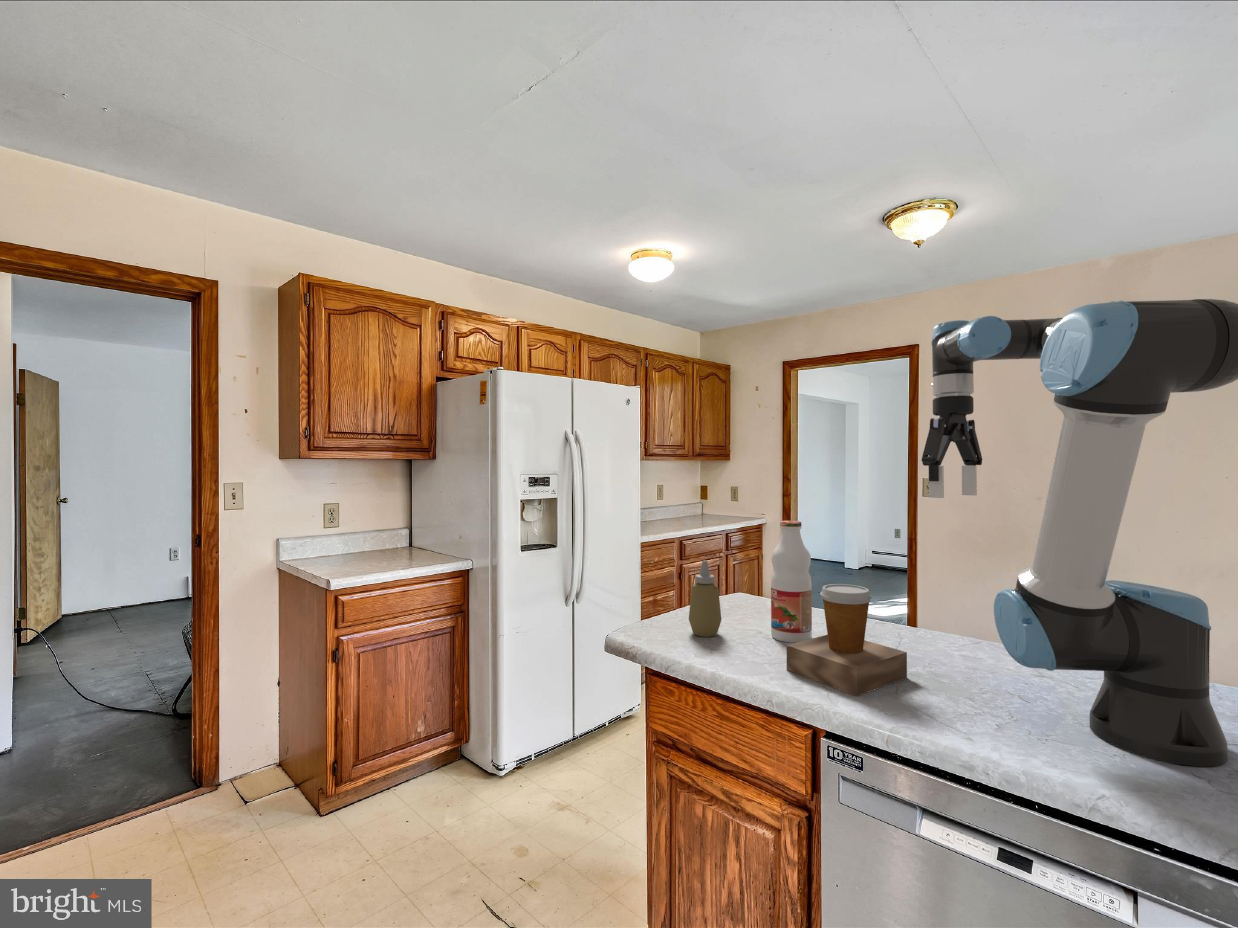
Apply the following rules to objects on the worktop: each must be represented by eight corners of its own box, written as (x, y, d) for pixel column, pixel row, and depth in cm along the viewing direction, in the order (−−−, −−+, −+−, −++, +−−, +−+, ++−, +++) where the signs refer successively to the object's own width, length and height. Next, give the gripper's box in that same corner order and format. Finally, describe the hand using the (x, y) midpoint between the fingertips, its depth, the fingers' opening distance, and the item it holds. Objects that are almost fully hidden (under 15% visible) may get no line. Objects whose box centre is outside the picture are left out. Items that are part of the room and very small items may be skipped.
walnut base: (906, 677, 113) (906, 652, 113) (856, 696, 104) (856, 668, 104) (836, 655, 126) (836, 632, 126) (786, 669, 117) (786, 645, 117)
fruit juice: (819, 642, 135) (818, 522, 135) (781, 644, 133) (780, 523, 133) (800, 631, 144) (799, 519, 144) (764, 632, 143) (764, 519, 143)
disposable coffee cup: (877, 657, 109) (876, 594, 109) (824, 654, 111) (823, 592, 111) (866, 642, 119) (865, 584, 119) (817, 640, 121) (817, 582, 121)
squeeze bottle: (724, 638, 138) (724, 563, 138) (690, 638, 138) (690, 563, 138) (718, 629, 146) (718, 558, 146) (686, 629, 146) (686, 558, 146)
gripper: (963, 401, 132) (964, 493, 132) (902, 394, 119) (903, 497, 119) (999, 397, 126) (1000, 495, 126) (939, 390, 112) (940, 499, 112)
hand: (953, 496), depth 122 cm, fingers open, 13 cm apart
